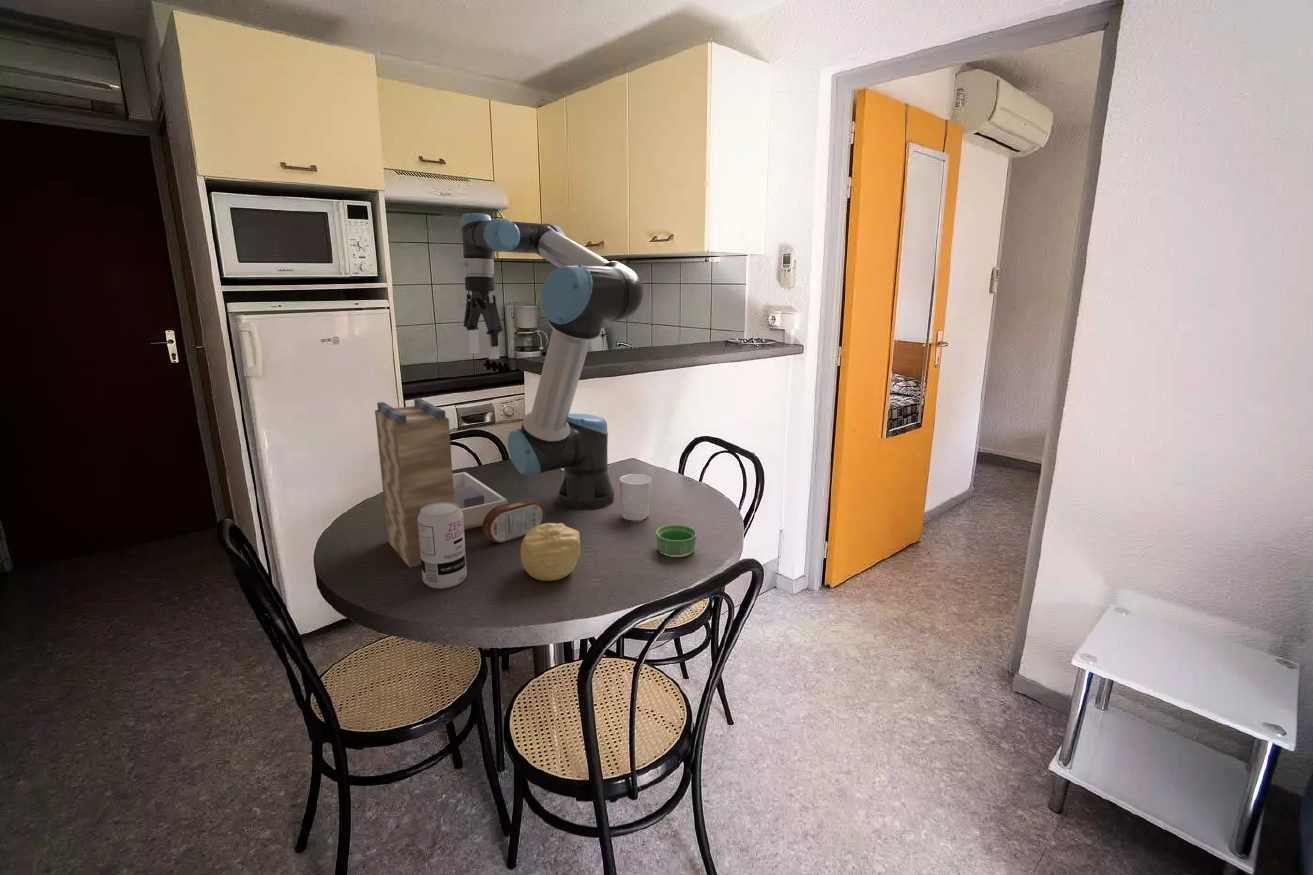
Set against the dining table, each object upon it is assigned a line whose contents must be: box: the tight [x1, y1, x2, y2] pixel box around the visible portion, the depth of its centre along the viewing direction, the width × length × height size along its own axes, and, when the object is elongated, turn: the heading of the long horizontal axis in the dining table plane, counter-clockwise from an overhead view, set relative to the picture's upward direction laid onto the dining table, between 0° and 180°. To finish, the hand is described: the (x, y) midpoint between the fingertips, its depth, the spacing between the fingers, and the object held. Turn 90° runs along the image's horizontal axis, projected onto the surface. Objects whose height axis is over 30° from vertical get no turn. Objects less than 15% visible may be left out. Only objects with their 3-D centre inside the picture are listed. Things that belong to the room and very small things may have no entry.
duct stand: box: [374, 398, 454, 569], centre depth 131 cm, size 16×10×32 cm, turn 38°
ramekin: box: [655, 524, 698, 555], centre depth 135 cm, size 9×9×4 cm
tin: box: [482, 497, 545, 544], centre depth 140 cm, size 15×3×8 cm, turn 135°
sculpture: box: [520, 522, 581, 582], centre depth 123 cm, size 11×12×11 cm
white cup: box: [619, 473, 652, 521], centre depth 153 cm, size 8×8×10 cm
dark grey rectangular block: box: [453, 487, 484, 509], centre depth 157 cm, size 20×5×5 cm, turn 39°
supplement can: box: [417, 502, 468, 589], centre depth 119 cm, size 8×8×15 cm
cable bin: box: [452, 471, 509, 531], centre depth 157 cm, size 28×14×5 cm, turn 38°
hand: (483, 356), depth 168 cm, fingers open, 13 cm apart
